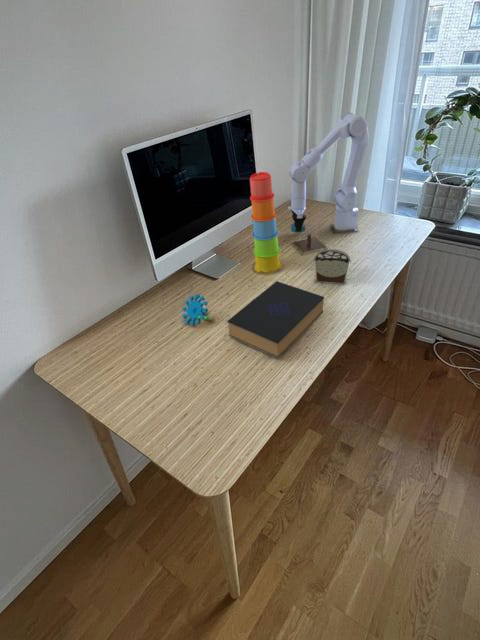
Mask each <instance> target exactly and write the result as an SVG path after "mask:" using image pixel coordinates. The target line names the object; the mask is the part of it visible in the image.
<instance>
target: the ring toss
mask: <svg viewBox="0 0 480 640" xmlns="http://www.w3.org/2000/svg"><path fill="white" fill-rule="evenodd" d="M306 235H307V236H306V239H301V240H296V241H293V242H292V243H293V245H295V246H296V247H297V248H298V249H299V250H300V251H301V252H302V253H303V254H304V253H309V252H312V251H317V250H321V249H325V248H327V247H326V245H324V244H323V243H322V242H321V241H319V240H318V239H317V238H316V237H312V234H311V233H308V234H306Z"/></svg>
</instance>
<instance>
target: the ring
mask: <svg viewBox="0 0 480 640" xmlns="http://www.w3.org/2000/svg"><path fill="white" fill-rule="evenodd" d="M290 231H291V232H293V233H303V232H305V231H306V224H305V222H304V223H303V226H302V230H301V231H296V228H295V223H294V222H293V223H291V224H290Z"/></svg>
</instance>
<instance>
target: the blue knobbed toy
mask: <svg viewBox="0 0 480 640" xmlns="http://www.w3.org/2000/svg"><path fill="white" fill-rule="evenodd" d="M188 299H189V300H187V299H186V300H185V301H184V305H185V306H183V307H182V308H181V311H182V312H186V314H185V313H182V315H181V316H182V318H183V319H184V323H185V324H187V325H191V326H193V327H194V326H195V324H196V325H200V324H201V320H202V321H204V322H213V319H212V318H210V317H209V316H208V315H207V313H208V311H209V309H208V308H206V307H207V306H208V305H209V304H208V303H209V302H208V301H207V300H205V299H206V298H205V296H204V295H200V294H197V293H195V295H190V296H189V297H188ZM202 301H203V302H202ZM203 306H206V307H203ZM187 318H188V319H187Z"/></svg>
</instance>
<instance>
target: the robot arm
mask: <svg viewBox="0 0 480 640" xmlns="http://www.w3.org/2000/svg"><path fill="white" fill-rule="evenodd" d="M368 127H369V124H368V122H367V121H366V119H365V117H363V116H359V115H357V114H354V113H353V112H347V113H344V114H343V115H342V117H341V118H340V119H339V120H338V121H336V123H335V125H334V127H333V128H332V129H331V130H330V131H329V132H328V133H327V135H326V136H325V137H324V138H323V140H322V141H321V142H320V143H319V144H318V145H317V147H312V148H310V149H308V150H306V151H305V152H306V154H305V155H304V156H303V157H302V158H301V159H300V160H298V161H297V163H296V164H293V165H292V166H291V168H290V171H289V173H288V174H289V176H290V177H291V191H290V192H291V193H290V194H291V195H290V197H291V198H290V199H291V200H290V201H291V202H290V203H291V206H288V207H287V208H288V211H291V218H292V220H293V223H295V228H296V231H301V230H302V226H303V223H304V224H305V221H306V219H307V215H306V214H304V213H305V211H306V210H307V206H306V203H307V201H306V200H307V195H306V194H307V180H308V179H309V176H310V173H311V172H312V171H313V170H314V169H315V168H316V167H317V166H318V165H319V163H321V161H322V160H323V155H324V154H325V153H326V152H327V151H328V150H330V148H331V147H332V146H333V145H335V144H336V142H338V141H339V140H341V139H345V138H350V139H351V141H352V143H353V144H352V147H351V150H350V153H349V158H348V162H347V166H346V169H345V172H344V177H343V180H342V183H341V184H340V185H339V186H338V187H337V190H336V192H335V193H334V196H333V201H334V202H335V208H334V209H335V210H334V221H333V222H334V224H333V228H334V229H335V230H337V231H351V230H353V231H354V232H358V225H359V224H358V223H359V209H358V207H356V206H357V196H358V193H357V192H358V191H357V188H356V187H357V183H358V180H359V176H360V173H361V171H362V170H361V169H362V166H363V162H364V159H365V156H366V152H367V149H368V146H369V144H370V143H369V142H370V134H369V129H368Z"/></svg>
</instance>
